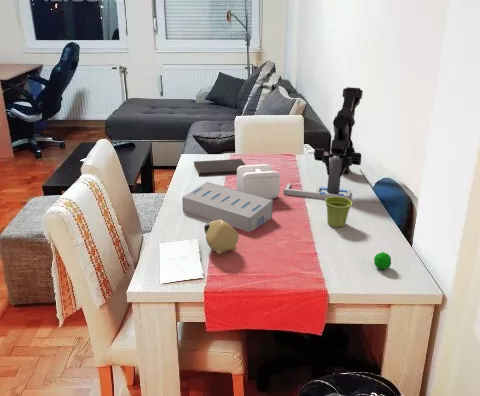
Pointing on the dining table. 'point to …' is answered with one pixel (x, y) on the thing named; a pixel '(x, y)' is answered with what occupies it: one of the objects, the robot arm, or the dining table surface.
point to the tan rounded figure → (221, 236)
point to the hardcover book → (218, 167)
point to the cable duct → (315, 193)
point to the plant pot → (337, 210)
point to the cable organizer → (258, 180)
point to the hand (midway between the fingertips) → (334, 175)
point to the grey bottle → (334, 175)
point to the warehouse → (228, 206)
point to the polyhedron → (382, 260)
